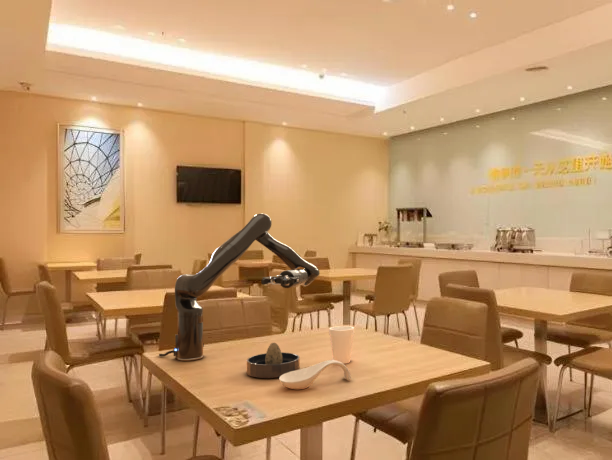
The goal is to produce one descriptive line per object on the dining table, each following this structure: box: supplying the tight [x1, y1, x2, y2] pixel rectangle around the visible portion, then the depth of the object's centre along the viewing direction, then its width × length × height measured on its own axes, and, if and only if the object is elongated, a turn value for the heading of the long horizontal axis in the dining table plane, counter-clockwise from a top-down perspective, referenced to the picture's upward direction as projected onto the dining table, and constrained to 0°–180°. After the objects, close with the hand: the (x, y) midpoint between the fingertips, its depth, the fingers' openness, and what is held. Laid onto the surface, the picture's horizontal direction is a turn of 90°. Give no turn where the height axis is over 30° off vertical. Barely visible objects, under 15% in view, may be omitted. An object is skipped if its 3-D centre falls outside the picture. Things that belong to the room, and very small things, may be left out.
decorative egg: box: [265, 342, 282, 365], centre depth 190 cm, size 6×6×10 cm
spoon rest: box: [278, 359, 352, 390], centre depth 175 cm, size 24×12×7 cm, turn 120°
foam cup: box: [328, 325, 355, 365], centre depth 205 cm, size 10×9×13 cm
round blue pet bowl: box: [246, 351, 301, 379], centre depth 190 cm, size 18×18×5 cm
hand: (272, 282), depth 212 cm, fingers open, 8 cm apart
